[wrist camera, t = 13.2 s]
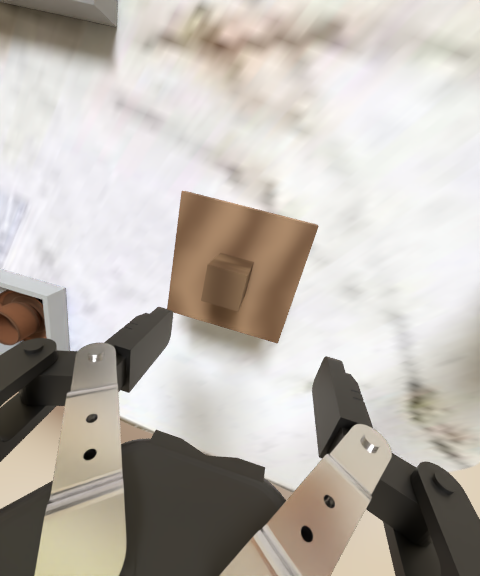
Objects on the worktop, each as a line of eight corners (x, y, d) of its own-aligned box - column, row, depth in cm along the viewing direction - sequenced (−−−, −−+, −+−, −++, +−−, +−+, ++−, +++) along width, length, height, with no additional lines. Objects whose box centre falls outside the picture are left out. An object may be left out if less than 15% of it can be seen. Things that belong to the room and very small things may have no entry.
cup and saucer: (5, 323, 53) (-28, 339, 48) (5, 276, 49) (-31, 288, 43) (55, 346, 54) (28, 365, 48) (60, 302, 49) (31, 317, 43)
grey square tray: (65, 287, 47) (47, 296, 43) (70, 360, 54) (54, 373, 50) (-19, 263, 48) (-44, 269, 44) (-3, 337, 55) (-24, 347, 52)
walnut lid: (317, 224, 26) (325, 233, 21) (277, 338, 32) (275, 369, 27) (185, 191, 28) (159, 190, 22) (171, 306, 33) (147, 329, 28)
